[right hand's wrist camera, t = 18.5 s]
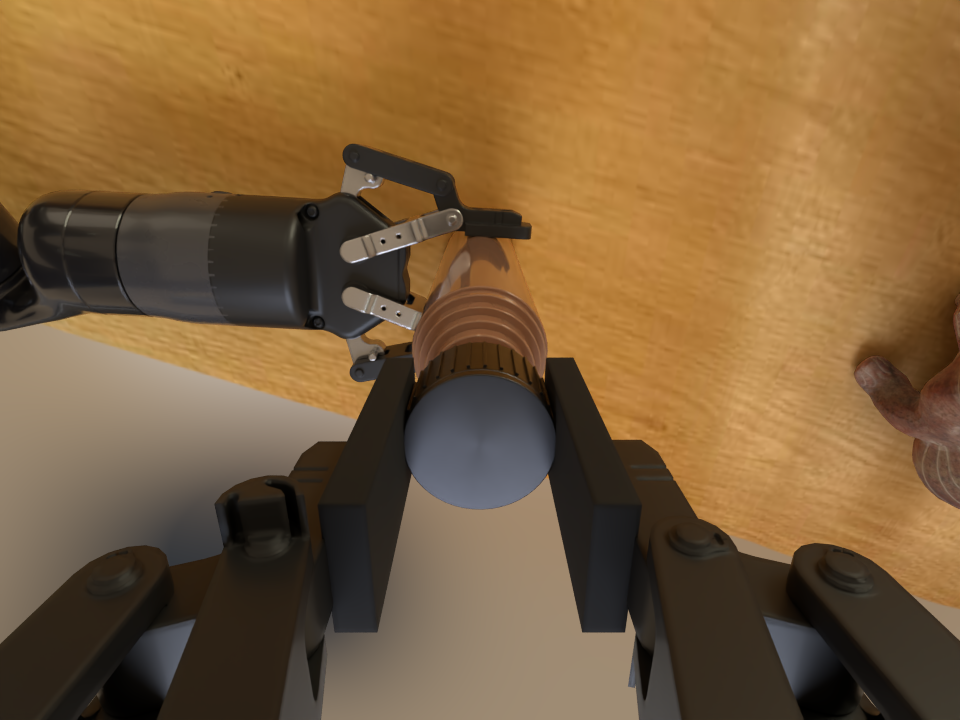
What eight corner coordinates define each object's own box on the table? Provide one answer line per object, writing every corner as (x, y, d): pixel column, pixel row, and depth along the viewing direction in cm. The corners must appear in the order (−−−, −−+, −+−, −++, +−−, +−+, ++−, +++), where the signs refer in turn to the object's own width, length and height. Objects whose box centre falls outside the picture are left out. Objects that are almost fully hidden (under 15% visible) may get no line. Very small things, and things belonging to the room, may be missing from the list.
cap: (389, 429, 15) (374, 474, 13) (449, 315, 14) (443, 344, 12) (506, 482, 16) (511, 533, 13) (573, 377, 14) (590, 415, 12)
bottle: (521, 279, 37) (593, 487, 14) (457, 297, 38) (418, 528, 14) (504, 212, 36) (551, 318, 12) (437, 232, 36) (356, 370, 13)
